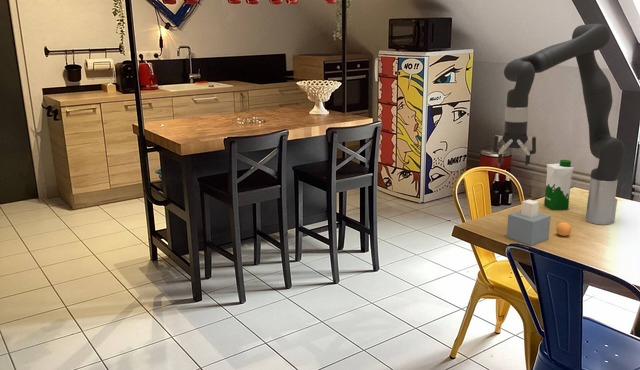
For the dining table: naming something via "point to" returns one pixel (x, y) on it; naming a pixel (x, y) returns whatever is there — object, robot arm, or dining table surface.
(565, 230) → the ball
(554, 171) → the milk carton
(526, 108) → the robot arm
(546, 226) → the tissue box
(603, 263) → the dining table surface
